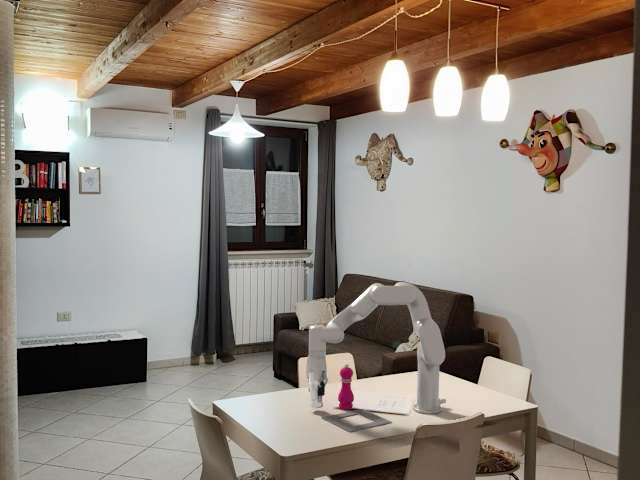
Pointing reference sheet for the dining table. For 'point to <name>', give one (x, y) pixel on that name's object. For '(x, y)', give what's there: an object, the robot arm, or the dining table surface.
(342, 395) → the pepper mill
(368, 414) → the letter o mat
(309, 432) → the dining table surface
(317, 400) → the beer glass
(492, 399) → the dining table surface
